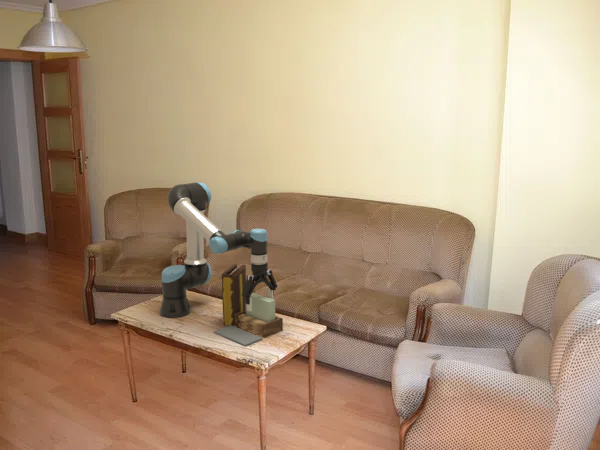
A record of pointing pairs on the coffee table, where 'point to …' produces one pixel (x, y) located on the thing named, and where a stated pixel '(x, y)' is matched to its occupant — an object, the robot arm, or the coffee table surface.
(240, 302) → the book
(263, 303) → the pale green slab
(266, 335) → the frame
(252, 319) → the brown wooden bar
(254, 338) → the mat
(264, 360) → the coffee table surface
